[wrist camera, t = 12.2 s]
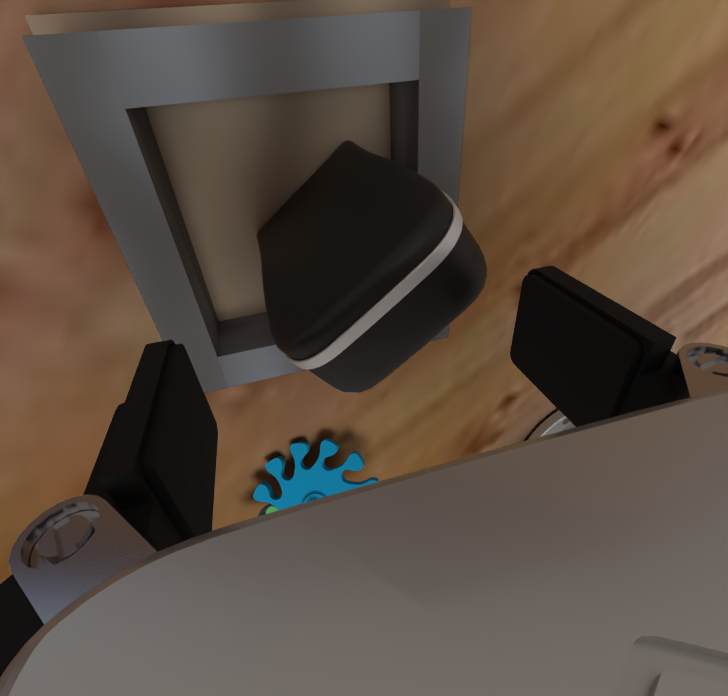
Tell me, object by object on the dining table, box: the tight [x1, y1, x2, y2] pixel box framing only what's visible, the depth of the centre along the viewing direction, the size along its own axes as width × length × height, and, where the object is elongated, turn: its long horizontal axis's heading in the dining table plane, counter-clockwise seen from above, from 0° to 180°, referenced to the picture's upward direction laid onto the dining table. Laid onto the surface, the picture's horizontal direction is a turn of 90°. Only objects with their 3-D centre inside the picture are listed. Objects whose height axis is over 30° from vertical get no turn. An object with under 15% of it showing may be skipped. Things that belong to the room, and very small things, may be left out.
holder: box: [22, 0, 472, 393], centre depth 19 cm, size 16×16×5 cm
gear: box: [253, 438, 379, 517], centre depth 32 cm, size 11×6×10 cm
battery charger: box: [256, 141, 487, 392], centre depth 16 cm, size 7×4×11 cm, turn 130°
